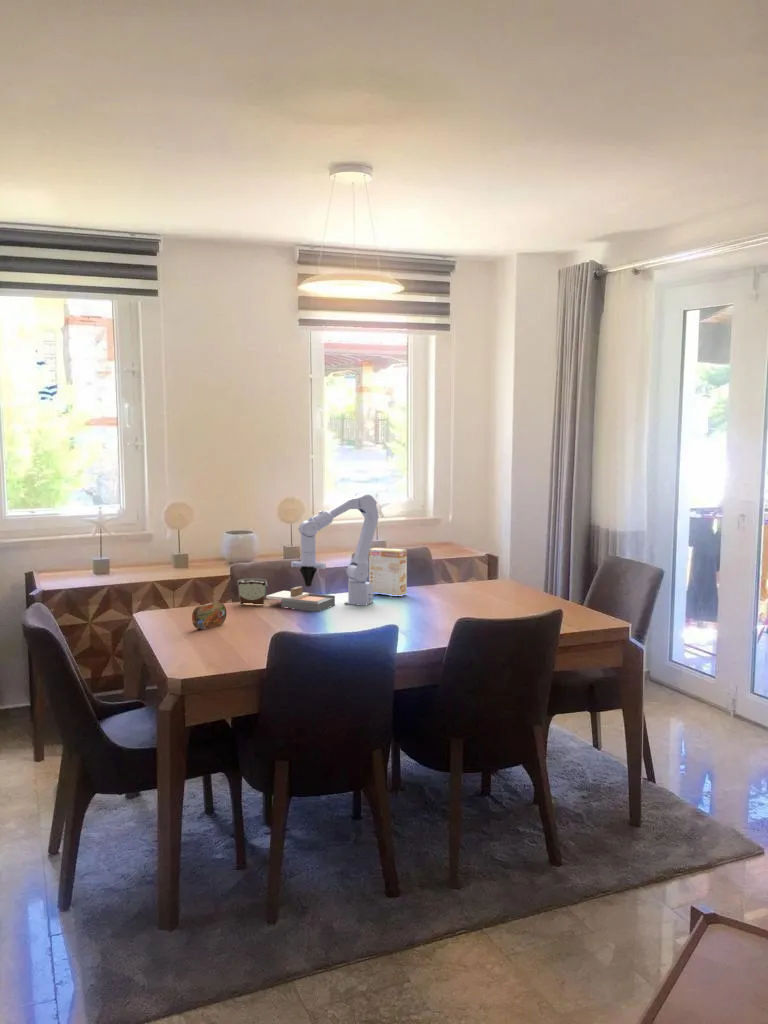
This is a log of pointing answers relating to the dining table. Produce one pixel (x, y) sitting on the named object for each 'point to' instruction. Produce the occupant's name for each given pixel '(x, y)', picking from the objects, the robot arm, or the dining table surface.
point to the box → (310, 602)
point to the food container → (252, 590)
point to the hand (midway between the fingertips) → (308, 586)
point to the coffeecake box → (388, 570)
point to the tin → (209, 615)
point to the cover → (289, 594)
